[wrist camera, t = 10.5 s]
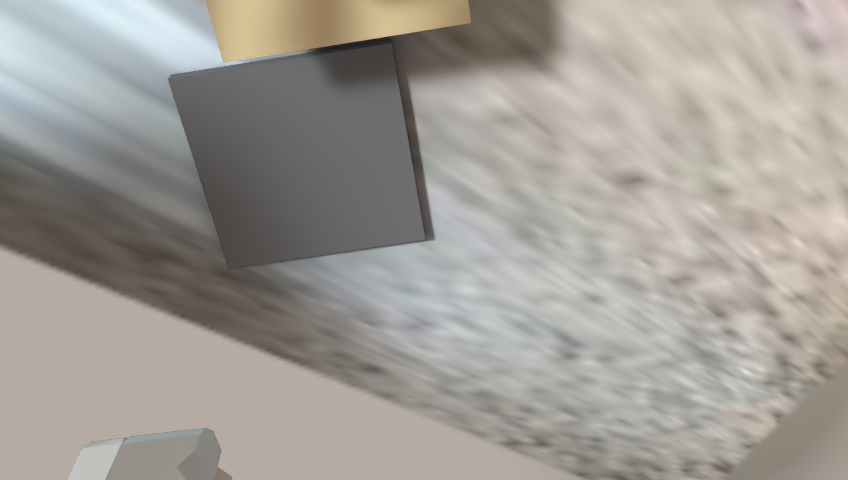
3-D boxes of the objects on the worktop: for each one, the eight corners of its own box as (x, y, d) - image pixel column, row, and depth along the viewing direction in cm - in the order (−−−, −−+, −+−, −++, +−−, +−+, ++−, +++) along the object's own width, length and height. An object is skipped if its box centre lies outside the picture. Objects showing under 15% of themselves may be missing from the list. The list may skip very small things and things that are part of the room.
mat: (231, 263, 45) (229, 268, 44) (170, 75, 39) (167, 78, 39) (425, 234, 44) (425, 239, 44) (391, 39, 39) (391, 43, 38)
